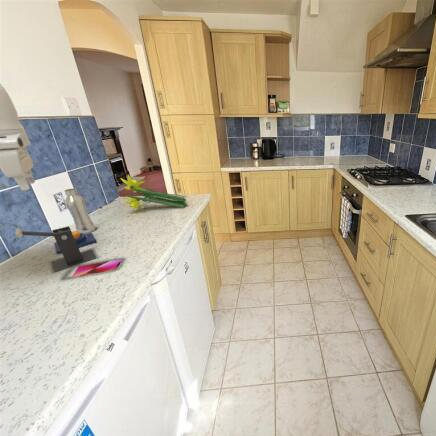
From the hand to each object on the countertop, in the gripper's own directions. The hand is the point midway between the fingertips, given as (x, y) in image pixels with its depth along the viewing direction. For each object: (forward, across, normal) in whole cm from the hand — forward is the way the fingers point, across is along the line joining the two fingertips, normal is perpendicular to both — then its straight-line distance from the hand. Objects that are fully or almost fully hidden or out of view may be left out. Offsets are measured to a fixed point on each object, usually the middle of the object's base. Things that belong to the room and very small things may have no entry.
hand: (28, 186), depth 76 cm
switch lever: (+16, +5, -1) cm, 17 cm away
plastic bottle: (+28, -23, +7) cm, 37 cm away
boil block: (+28, -11, +4) cm, 30 cm away
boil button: (+24, -11, +4) cm, 27 cm away
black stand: (+28, +4, +4) cm, 28 cm away
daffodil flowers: (+28, -37, +39) cm, 61 cm away
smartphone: (+28, +16, +9) cm, 33 cm away
